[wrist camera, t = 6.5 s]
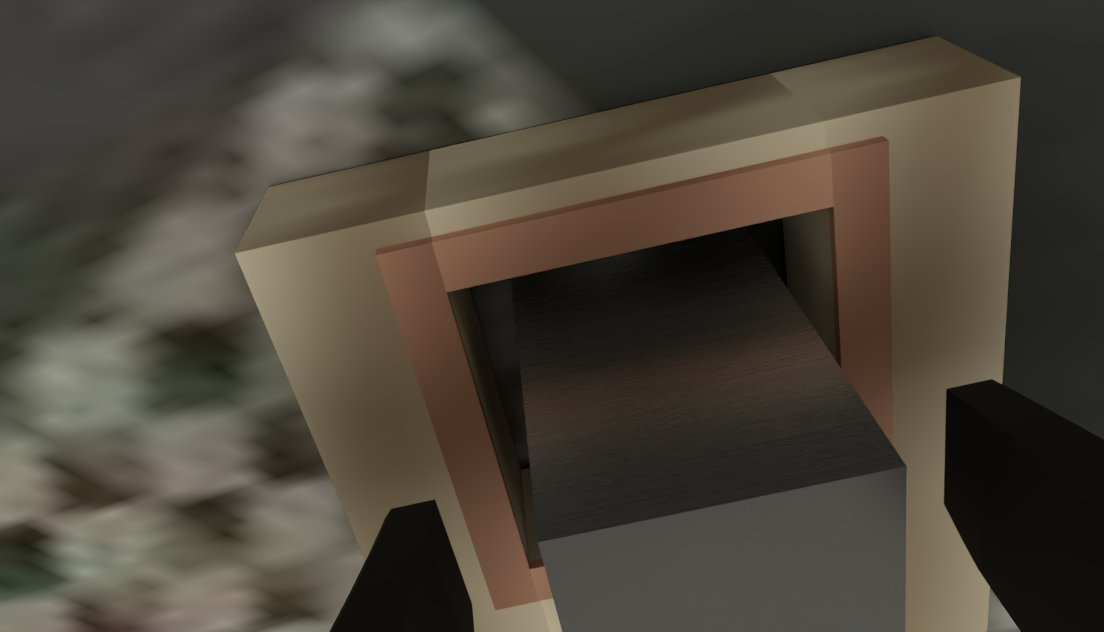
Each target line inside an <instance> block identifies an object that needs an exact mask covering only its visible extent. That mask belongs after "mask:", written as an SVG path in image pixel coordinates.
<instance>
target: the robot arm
mask: <svg viewBox="0 0 1104 632" xmlns="http://www.w3.org/2000/svg"><path fill="white" fill-rule="evenodd" d="M944 505H945V507H946V509H947V511H948V513H949V515H950V517H951V519H952V521H953V523H954V525H955V527H956V529H957V531H958V533H959V535H960V537H961V539H962V541H963V542H964V544H965V546H966V548H967V550H968V552H969V553H970V555H971V557H972V559H973V561H974V563H975V564H976V566H977V568H978V570H979V571H980V573H981V574H982V576H983V577H984V579H985V580H986V582H987V583H988V585H989V586H990V588H991V589H992V590H993V592H994V593H995V595H996V596H997V598H998V599H999V601H1000V602H1001V603H1002V605H1003V606H1004V608H1005V609H1006V611H1007V612H1008V613H1009V615H1010V616H1011V618H1012V619H1013V621H1014V622H1015V624H1016V625H1017V626H1018V628H1019V629H1020V631H1021V632H1104V440H1103V439H1102V438H1100V437H1098V436H1096V435H1094V434H1092V433H1090V432H1089V431H1087V430H1085V429H1083V428H1081V427H1079V426H1078V425H1076V424H1074V423H1072V422H1070V421H1069V420H1067V419H1065V418H1063V417H1061V416H1059V415H1058V414H1056V413H1054V412H1052V411H1050V410H1049V409H1047V408H1045V407H1043V406H1041V405H1039V404H1038V403H1036V402H1034V401H1032V400H1030V399H1029V398H1027V397H1025V396H1023V395H1021V394H1019V393H1018V392H1016V391H1014V390H1012V389H1010V388H1008V387H1006V386H1004V385H1002V384H1000V383H998V382H997V381H995V380H993V379H990V380H985V381H981V382H976V383H971V384H967V385H962V386H958V387H953V388H948V389H946V424H945V469H944ZM330 632H474V620H473V608H472V602H471V599H470V597H469V594H468V591H467V588H466V585H465V582H464V580H463V577H462V574H461V571H460V568H459V565H458V563H457V560H456V557H455V554H454V551H453V549H452V546H451V543H450V540H449V537H448V534H447V532H446V529H445V526H444V523H443V520H442V518H441V515H440V512H439V509H438V506H437V503H436V501H435V499H434V500H430V501H425V502H420V503H416V504H411V505H406V506H402V507H397V508H393V509H391V510H390V511H389V513H388V514H387V516H386V517H385V519H384V522H383V524H382V526H381V528H380V531H379V533H378V535H377V537H376V539H375V541H374V544H373V546H372V548H371V550H370V552H369V554H368V557H367V559H366V561H365V563H364V565H363V567H362V569H361V571H360V573H359V575H358V577H357V579H356V582H355V584H354V586H353V588H352V590H351V592H350V594H349V596H348V598H347V599H346V601H345V603H344V605H343V607H342V609H341V611H340V613H339V615H338V617H337V619H336V620H335V622H334V624H333V626H332V628H331V630H330Z"/></svg>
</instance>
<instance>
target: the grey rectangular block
mask: <svg viewBox="0 0 1104 632" xmlns="http://www.w3.org/2000/svg"><path fill="white" fill-rule="evenodd" d="M511 286H512V296H513V305H514V315H515V325H516V335H517V344H518V354H519V364H520V374H521V383H522V393H523V403H524V413H525V422H526V432H527V442H528V452H529V461H530V471H531V481H532V491H533V500H534V510H535V520H536V530H537V539H538V545H539V549H540V552H541V556H542V560H543V563H544V567H545V571H546V574H547V578H548V582H549V585H550V589H551V592H552V596H553V600H554V603H555V607H556V611H557V614H558V618H559V622H560V625H561V629H562V632H905V603H906V477H907V466H906V465H905V463H904V462H903V460H902V459H901V457H900V456H899V454H898V453H897V451H896V450H895V448H894V447H893V445H892V444H891V442H890V441H889V439H888V438H887V436H886V435H885V433H884V432H883V430H882V429H881V427H880V426H879V424H878V423H877V421H876V420H875V418H874V417H873V415H872V414H871V412H870V411H869V409H868V408H867V406H866V405H865V404H864V402H863V401H862V399H861V398H860V396H859V395H858V393H857V392H856V390H855V389H854V387H853V386H852V384H851V383H850V381H849V380H848V378H847V377H846V375H845V374H844V372H843V371H842V369H841V368H840V366H839V365H838V363H837V362H836V360H835V359H834V357H833V356H832V354H831V353H830V351H829V350H828V348H827V347H826V345H825V344H824V342H823V341H822V339H821V338H820V336H819V335H818V333H817V332H816V330H815V329H814V327H813V326H812V324H811V323H810V321H809V320H808V318H807V317H806V315H805V314H804V313H803V311H802V310H801V308H800V307H799V305H798V304H797V302H796V301H795V299H794V298H793V296H792V295H791V293H790V292H789V290H788V289H787V287H786V286H785V284H784V283H783V281H782V280H781V278H780V277H779V275H778V274H777V272H776V271H775V269H774V268H773V266H772V265H771V263H770V262H769V260H768V259H767V257H766V256H765V254H764V253H763V251H762V250H761V248H760V247H759V245H758V244H757V242H756V241H755V239H754V238H753V236H752V235H751V233H750V232H749V230H748V229H747V227H746V226H744V227H739V228H735V229H730V230H726V231H721V232H717V233H712V234H708V235H703V236H699V237H694V238H690V239H685V240H680V241H676V242H671V243H667V244H662V245H658V246H653V247H649V248H644V249H640V250H635V251H631V252H626V253H622V254H617V255H613V256H608V257H604V258H599V259H595V260H590V261H586V262H581V263H577V264H572V265H568V266H563V267H559V268H554V269H550V270H545V271H541V272H536V273H532V274H527V275H523V276H518V277H514V278H511Z"/></svg>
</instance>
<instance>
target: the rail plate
mask: <svg viewBox="0 0 1104 632" xmlns="http://www.w3.org/2000/svg"><path fill="white" fill-rule="evenodd" d="M1020 82H1021V77H1020V76H1018V75H1015V74H1013V73H1011V72H1009V71H1007V70H1005V69H1003V68H1001V67H999V66H997V65H995V64H993V63H991V62H989V61H987V60H985V59H983V58H981V57H979V56H977V55H975V54H973V53H971V52H969V51H967V50H964V49H962V48H960V47H958V46H956V45H954V44H952V43H950V42H948V41H946V40H944V39H942V38H940V37H938V36H934V37H930V38H926V39H921V40H917V41H912V42H908V43H903V44H899V45H895V46H890V47H886V48H881V49H877V50H872V51H868V52H864V53H859V54H855V55H850V56H846V57H841V58H837V59H833V60H828V61H824V62H819V63H815V64H811V65H806V66H802V67H797V68H793V69H788V70H784V71H780V72H775V73H771V74H766V75H762V76H757V77H753V78H749V79H744V80H740V81H735V82H731V83H726V84H722V85H718V86H713V87H709V88H704V89H700V90H695V91H691V92H687V93H682V94H678V95H673V96H669V97H665V98H660V99H656V100H651V101H647V102H642V103H638V104H634V105H629V106H625V107H620V108H616V109H611V110H607V111H603V112H598V113H594V114H589V115H585V116H580V117H576V118H572V119H567V120H563V121H558V122H554V123H549V124H545V125H541V126H536V127H532V128H527V129H523V130H519V131H514V132H510V133H505V134H501V135H496V136H492V137H488V138H483V139H479V140H474V141H470V142H465V143H461V144H457V145H452V146H448V147H443V148H439V149H434V150H430V151H426V152H421V153H417V154H412V155H408V156H404V157H399V158H395V159H390V160H386V161H381V162H377V163H373V164H368V165H364V166H359V167H355V168H350V169H346V170H342V171H337V172H333V173H328V174H324V175H319V176H315V177H311V178H306V179H302V180H297V181H293V182H288V183H284V184H280V185H275V186H271V187H268V189H267V191H266V193H265V195H264V197H263V199H262V201H261V202H260V204H259V206H258V208H257V210H256V212H255V214H254V216H253V218H252V220H251V222H250V224H249V226H248V228H247V230H246V232H245V234H244V236H243V238H242V240H241V242H240V244H239V246H238V248H237V250H236V252H235V255H236V258H237V260H238V262H239V265H240V267H241V269H242V272H243V274H244V276H245V279H246V281H247V284H248V286H249V288H250V291H251V293H252V295H253V298H254V300H255V302H256V305H257V307H258V309H259V312H260V314H261V316H262V319H263V321H264V323H265V326H266V328H267V331H268V333H269V335H270V338H271V340H272V342H273V345H274V347H275V349H276V352H277V354H278V356H279V359H280V361H281V363H282V366H283V368H284V370H285V373H286V375H287V378H288V380H289V382H290V385H291V387H292V389H293V392H294V394H295V396H296V399H297V401H298V403H299V406H300V408H301V410H302V413H303V415H304V418H305V420H306V422H307V425H308V427H309V429H310V432H311V434H312V436H313V439H314V441H315V443H316V446H317V448H318V450H319V453H320V455H321V457H322V460H323V462H324V465H325V467H326V469H327V472H328V474H329V476H330V479H331V481H332V483H333V486H334V488H335V490H336V493H337V495H338V497H339V500H340V502H341V504H342V507H343V509H344V512H345V514H346V516H347V519H348V521H349V523H350V526H351V528H352V530H353V533H354V535H355V537H356V540H357V542H358V544H359V547H360V549H361V551H362V554H363V556H364V559H365V561H366V559H367V557H368V554H369V552H370V550H371V548H372V546H373V544H374V541H375V539H376V537H377V535H378V533H379V531H380V528H381V526H382V524H383V522H384V519H385V517H386V516H387V514H388V513H389V511H390V510H391V509H393V508H397V507H402V506H406V505H411V504H416V503H420V502H425V501H430V500H434V499H435V501H436V503H437V506H438V509H439V512H440V515H441V518H442V520H443V523H444V526H445V529H446V532H447V534H448V537H449V540H450V543H451V546H452V549H453V551H454V554H455V557H456V560H457V563H458V565H459V568H460V571H461V574H462V577H463V580H464V582H465V585H466V588H467V591H468V594H469V597H470V599H471V602H472V608H473V620H474V632H562V629H561V625H560V622H559V618H558V614H557V611H556V607H555V603H554V600H553V596H552V592H551V589H550V585H549V582H548V578H547V574H546V571H545V567H544V563H543V560H542V556H541V552H540V549H539V545H538V539H537V530H536V520H535V510H534V500H533V491H532V481H531V471H530V468H527V469H523V470H521V468H520V465H519V461H518V458H517V454H516V451H515V447H514V444H513V440H512V437H511V433H510V430H509V426H508V423H507V419H506V416H505V412H504V409H503V405H502V402H501V398H500V395H499V391H498V387H497V384H496V380H495V377H494V373H493V370H492V366H491V363H490V359H489V356H488V352H487V349H486V345H485V342H484V338H483V335H482V331H481V328H480V324H479V321H478V317H477V314H476V310H475V307H474V303H473V300H472V296H471V293H470V289H469V287H473V286H478V285H482V284H487V283H491V282H496V281H500V280H505V279H509V278H514V277H518V276H523V275H527V274H532V273H536V272H541V271H545V270H550V269H554V268H559V267H563V266H568V265H572V264H577V263H581V262H586V261H590V260H595V259H599V258H604V257H608V256H613V255H617V254H622V253H626V252H631V251H635V250H640V249H644V248H649V247H653V246H658V245H662V244H667V243H671V242H676V241H680V240H685V239H690V238H694V237H699V236H703V235H708V234H712V233H717V232H721V231H726V230H730V229H735V228H739V227H744V226H748V225H753V224H757V223H762V222H766V221H771V220H775V219H780V218H782V224H783V237H784V249H785V262H786V274H787V286H788V290H789V292H790V293H791V295H792V296H793V298H794V299H795V301H796V302H797V304H798V305H799V307H800V308H801V310H802V311H803V313H804V314H805V315H806V317H807V318H808V320H809V321H810V323H811V324H812V326H813V327H814V329H815V330H816V332H817V333H818V335H819V336H820V338H821V339H822V341H823V342H824V344H825V345H826V347H827V348H828V350H829V351H830V353H831V354H832V356H833V357H834V359H835V360H836V362H837V363H838V365H839V366H840V368H841V369H842V371H843V372H844V374H845V375H846V377H847V378H848V380H849V381H850V383H851V384H852V386H853V387H854V389H855V390H856V392H857V393H858V395H859V396H860V398H861V399H862V401H863V402H864V404H865V405H866V406H867V408H868V409H869V411H870V412H871V414H872V415H873V417H874V418H875V420H876V421H877V423H878V424H879V426H880V427H881V429H882V430H883V432H884V433H885V435H886V436H887V438H888V439H889V441H890V442H891V444H892V445H893V447H894V448H895V450H896V451H897V453H898V454H899V456H900V457H901V459H902V460H903V462H904V463H905V465H906V466H907V477H906V603H905V632H987V626H988V610H989V593H990V586H989V585H988V583H987V582H986V580H985V579H984V577H983V576H982V574H981V573H980V571H979V570H978V568H977V566H976V564H975V563H974V561H973V559H972V557H971V555H970V553H969V552H968V550H967V548H966V546H965V544H964V542H963V541H962V539H961V537H960V535H959V533H958V531H957V529H956V527H955V525H954V523H953V521H952V519H951V517H950V515H949V513H948V511H947V509H946V507H945V505H944V469H945V424H946V389H948V388H953V387H958V386H962V385H967V384H971V383H976V382H981V381H985V380H990V379H993V380H995V381H997V382H998V383H1000V384H1002V379H1003V363H1004V346H1005V330H1006V313H1007V297H1008V280H1009V264H1010V247H1011V231H1012V214H1013V198H1014V181H1015V165H1016V148H1017V132H1018V115H1019V99H1020Z"/></svg>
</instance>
